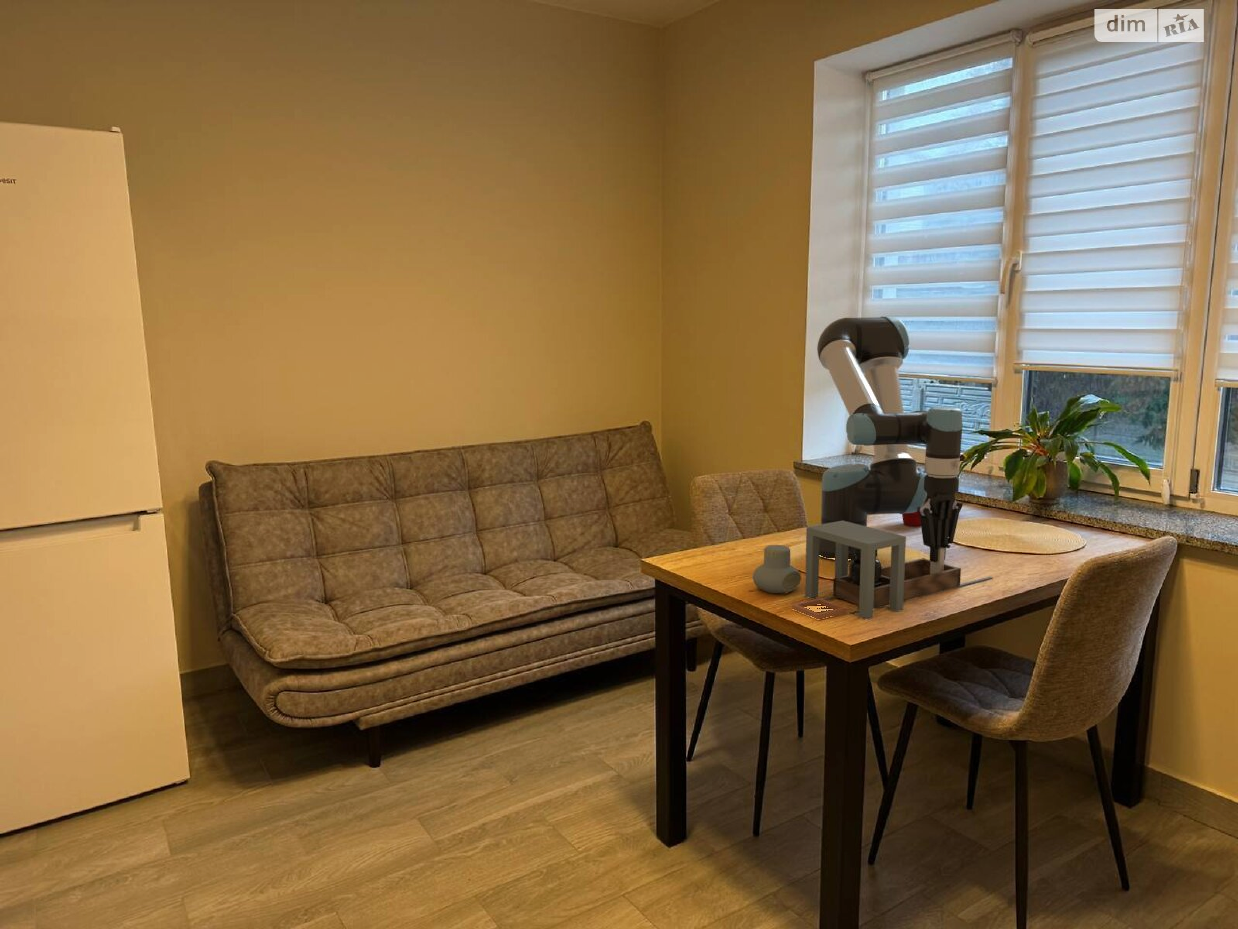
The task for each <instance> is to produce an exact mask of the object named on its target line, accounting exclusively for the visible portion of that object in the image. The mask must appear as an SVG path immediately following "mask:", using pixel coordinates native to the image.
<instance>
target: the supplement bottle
mask: <svg viewBox="0 0 1238 929" xmlns="http://www.w3.org/2000/svg"><path fill="white" fill-rule="evenodd" d="M878 550H879V549H877V550H875V575H874V588H875V587H880V586H881V569H882V567H883V566H882V561H880V560H879V559H878V556H879V555H878ZM854 555H855V557H854V558H852V559H851V561H849V563H848V575H849V582H851V583H854V584H857V585H860V565H861V549H858V548H855V552H854Z"/></svg>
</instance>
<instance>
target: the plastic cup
mask: <svg viewBox="0 0 1238 929" xmlns="http://www.w3.org/2000/svg"><path fill="white" fill-rule="evenodd" d="M926 497H927V496H926ZM925 500H926V499H925ZM924 504H925V502H924ZM924 504H923V506H924ZM923 506H922V507H923ZM901 515H902V523H903V525H904V526H906V527H912V528H914V527H915V528H919V527H920V528H921V521H920V515H919V513H918V511H917V512H913V513H904V514H901Z"/></svg>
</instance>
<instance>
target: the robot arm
mask: <svg viewBox="0 0 1238 929" xmlns="http://www.w3.org/2000/svg"><path fill="white" fill-rule="evenodd" d="M909 337H910V336H909V333H908V329H907V327H906V325H905V324H904V322H903V321H902V320H901V319H899V318H897V317H889V316H880V317H874V316H873V317H841V318H839V319H836V320H834V321H832V322H831V323H829V324H828V325H827V326H826V327H825V328H824V330H823V331H822V332H821V334H820V337H819V338H818V340H817V341H818V342H817V345H816V346H817V347H816V348H817V349H816V350H817V357H818V360H819V363H820V364H821V366H823V368H824V369H825V370H828V371H829V374H830V376H831V378H832V381H833V383H834V384H835V387H836V389H837V392H838V393H839V396H840V398H841V400H842V402H843V404H844V406H845V409H846V411H847V413H848V415H849V416H848V417H847V421H846V424H845V427H846V429H845V431H846V436H847V440H848V442H849V443H850V444H851V445H854V446H866V447H868V446H873V452H874V460H872V462H870V464H869V466H868V465H867V464H862V463H854V464H853V463H848V464H840V465H836V466H832V467H829V468H827V469H826V470H825V471H824V472H823V474H822V479H821V486H820V489H821V505H820V506H821V510H820V511H821V512H820V513H821V514H820V518H821V519H820V525H821V524H826V523H832V522H837V521H846V522H850V523H854V524H858V525H862V526H866V527H868V516H869V515H891V514H892V515H893V514H894V515H895V514H899V515H902V514H904V513H913V512H917V511H918V513H919V515H920V521H921V527H920V528H921V534H922V535H921V536H922V543H923V545H924V546H926V547H928V548H929V560H930V574H934V573H938V572H942V571H944V564H945V560H946V554H947V552H946V551H947V549H950V548H951V545H952V544H953V543H954V539H955V535H956V530H957V526H958V525H957V524H958V521H959V515H960V512H961V510H962V508H963V506H964V503H962V502H960V501H957V500H956V498H957V497H956V495H955V494H957V493H959V488H960V487H959V486H960V478H959V476H958V475H959V474H960V465H961V464H960V463H961V451H962V450H961V448H962V437H963V436H962V435H963V427H964V424H963V412H962V410H961V409H960V408H958V407H950V406H949V407H948V406H934V407H930V408H929V409H928V410H913V411H911V412H904V405H903V400H902V391H901V382H900V375H899V369H900V367H901V366H903V364H904V360H905V359H906V357H907V356H908V354H909V352H910V351H909V350H910V348H909V345H910V338H909ZM908 445H925V457H924V469H923V468H920V467H917V460H916V458H914V457H912V456H911V455H910V454H909V446H908ZM926 496H927V497H926ZM925 499H926V500H925ZM924 502H925V504H924ZM923 504H924V506H923ZM922 506H923V507H922ZM835 551H836V542H834V541H830V540H827V539H823V538H820V537H819V555H821V556H823V557H826V558H835ZM854 552H855V547H851V546H849V548H848V559H852V558H854V557H855V555H854Z"/></svg>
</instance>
